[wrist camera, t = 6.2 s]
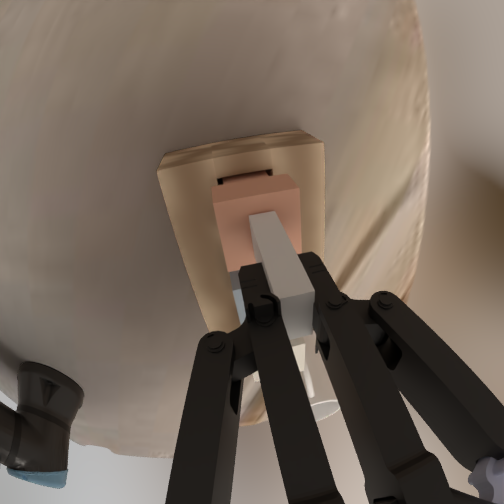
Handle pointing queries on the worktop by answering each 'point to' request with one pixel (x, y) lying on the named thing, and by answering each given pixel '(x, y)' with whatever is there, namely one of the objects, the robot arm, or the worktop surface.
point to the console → (203, 215)
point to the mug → (318, 382)
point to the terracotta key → (254, 212)
